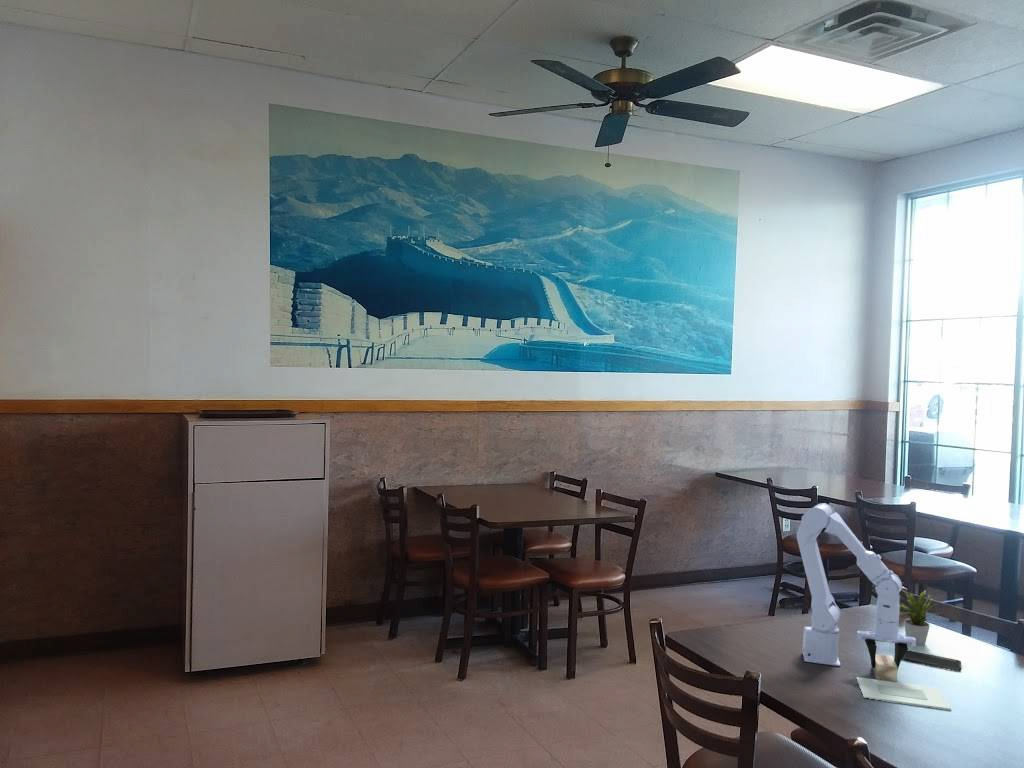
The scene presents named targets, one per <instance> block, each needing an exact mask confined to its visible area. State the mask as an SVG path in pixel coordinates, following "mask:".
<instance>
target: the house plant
mask: <svg viewBox="0 0 1024 768" xmlns="http://www.w3.org/2000/svg"><path fill="white" fill-rule="evenodd" d="M901 591H902V592H904V594H905V595H906V598H907V599H905V598H904V597H902V596H901V595H899V598H901V600H902V601H903V602H904V603H905V604H904V603H902V602H900V609H899V617H900V616H902V615H907V616H909V618H906V619H904V620H903V624H904V632H905V634H904V635H905V636H908V637H914V638H915V639H916V647H917V646H918V647H923V646H926V643H927V639H928V634H929V630H930V626H931V625H930V623H929V621H930V619H929V618H928V619H927V617H929V616H931V615H933V614H937V615H940V613H938V612H931V613H929V614H927V615H926V613H927V612H928V611H929V610H930V609H931V608H933V606H935V605H936V604H937V602H935V603H934V604H932V600H933V596H932V597H931V598H930V594H928V596H927V598H926V600H925V601H924V599H925V597H926V595H927V590H926V589H925V590H924V591H922V592H920V594H919V596H918V597H917V600H916V598H915V597H914V595H913V594H912V593H911V592H910V593H909V594H908V593H907V591H905V590H904V589H903V588H902V589H901ZM929 599H930V600H929ZM906 602H907V603H906ZM923 603H924V604H923ZM931 604H932V605H931ZM930 605H931V606H930ZM909 606H910V607H909ZM902 609H903V610H905V611H906V612H905V611H903V610H902ZM900 610H901V611H900ZM927 621H928V622H927Z"/></svg>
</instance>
